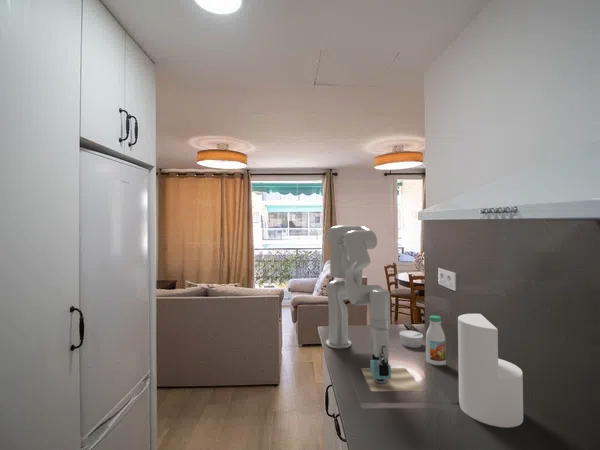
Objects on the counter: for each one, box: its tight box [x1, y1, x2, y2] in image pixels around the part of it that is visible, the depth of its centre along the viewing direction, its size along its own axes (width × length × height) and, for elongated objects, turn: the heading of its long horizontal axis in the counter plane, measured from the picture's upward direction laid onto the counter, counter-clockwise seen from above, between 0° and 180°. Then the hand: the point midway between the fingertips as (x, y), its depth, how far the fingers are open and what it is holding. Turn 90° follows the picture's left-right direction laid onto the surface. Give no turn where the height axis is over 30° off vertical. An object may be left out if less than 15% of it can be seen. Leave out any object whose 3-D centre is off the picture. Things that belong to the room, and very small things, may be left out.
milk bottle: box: [425, 315, 447, 366], centre depth 133 cm, size 8×8×20 cm
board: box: [360, 367, 424, 392], centre depth 118 cm, size 18×18×1 cm
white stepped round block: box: [457, 313, 524, 428], centre depth 100 cm, size 17×17×28 cm
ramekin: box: [399, 329, 424, 349], centre depth 156 cm, size 11×11×5 cm
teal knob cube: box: [369, 359, 392, 379], centre depth 116 cm, size 6×6×5 cm
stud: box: [374, 379, 387, 384], centre depth 116 cm, size 4×4×6 cm
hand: (380, 369), depth 116 cm, fingers open, 9 cm apart
